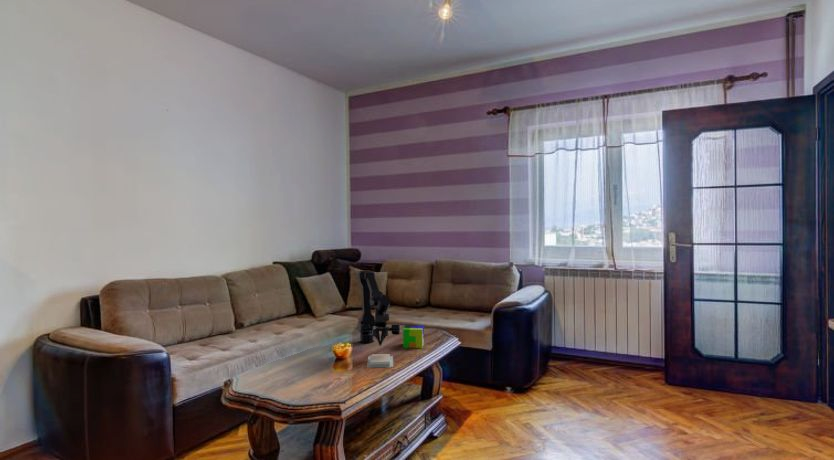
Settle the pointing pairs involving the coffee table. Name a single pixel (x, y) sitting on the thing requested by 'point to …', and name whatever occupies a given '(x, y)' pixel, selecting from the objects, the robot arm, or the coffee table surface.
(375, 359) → the tile
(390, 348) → the coffee table surface
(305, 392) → the coffee table surface
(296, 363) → the coffee table surface
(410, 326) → the puzzle toy
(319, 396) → the coffee table surface
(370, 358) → the mat
